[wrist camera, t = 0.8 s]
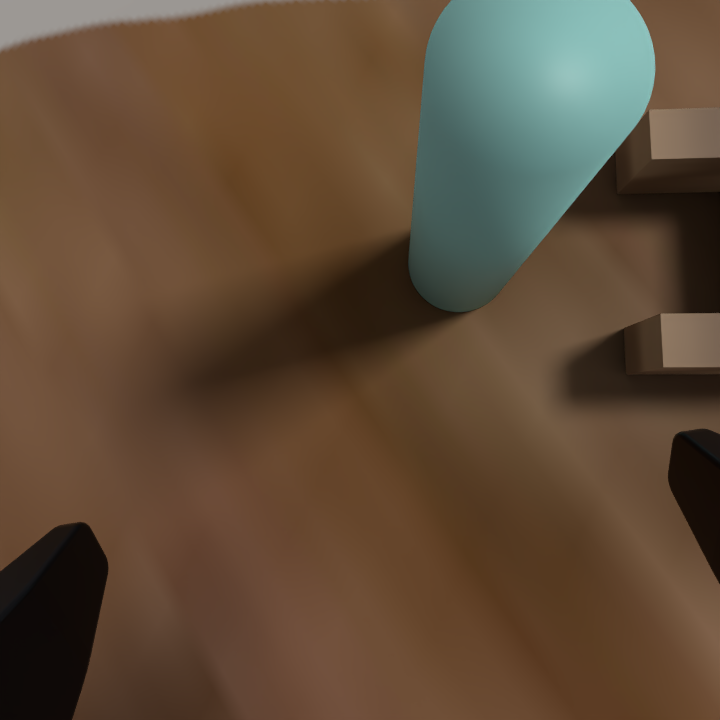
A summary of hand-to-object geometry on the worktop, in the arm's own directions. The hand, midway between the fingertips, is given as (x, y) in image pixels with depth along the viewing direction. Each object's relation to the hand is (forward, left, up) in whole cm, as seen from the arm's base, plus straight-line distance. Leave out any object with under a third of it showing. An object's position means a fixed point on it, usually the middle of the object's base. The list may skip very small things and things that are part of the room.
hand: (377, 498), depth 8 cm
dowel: (+4, -7, -13) cm, 15 cm away
